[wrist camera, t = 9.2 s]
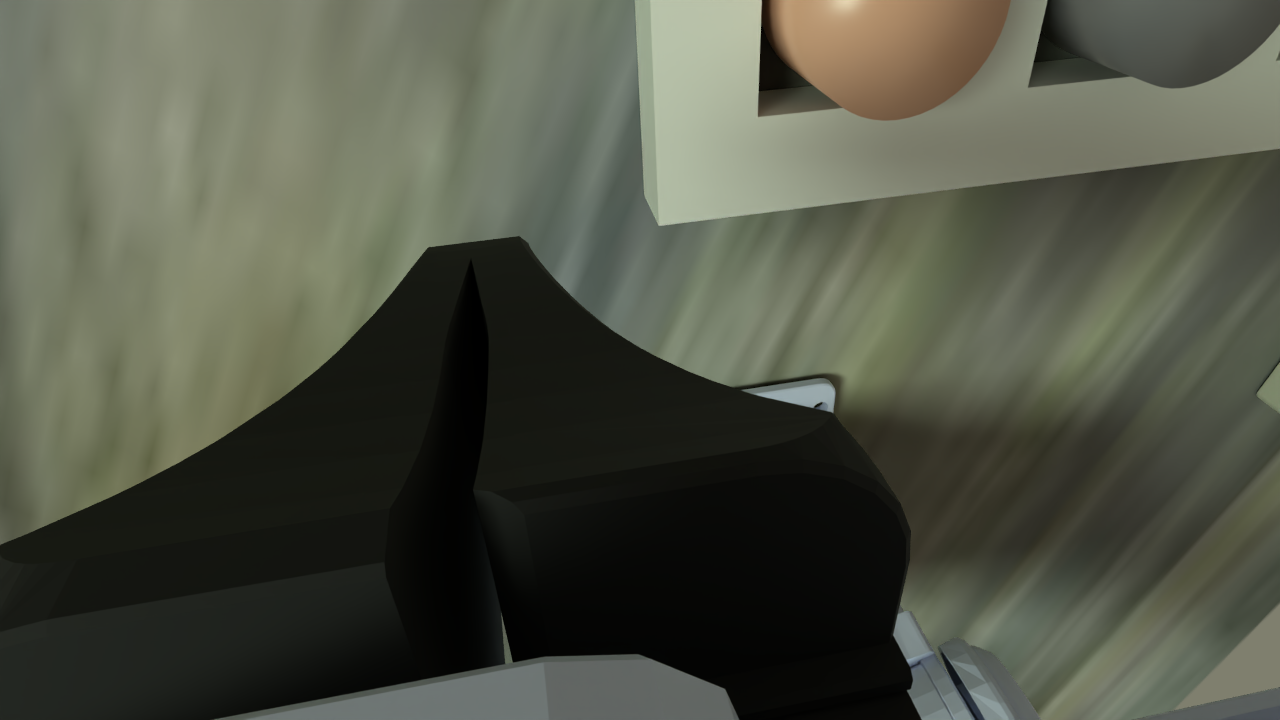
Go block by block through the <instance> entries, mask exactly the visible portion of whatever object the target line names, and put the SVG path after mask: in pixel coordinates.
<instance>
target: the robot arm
mask: <svg viewBox="0 0 1280 720" xmlns="http://www.w3.org/2000/svg"><path fill="white" fill-rule="evenodd" d="M835 395H836V392H835V388H834V386H833V385H832V383H831V382H830V381H829V380H827V379H825V378H818V379H811V380H804V381H798V382H791V383H785V384H778V385H771V386H765V387H758V388H752V389H745V390H739V389H735V388H732V387H729V386H726V385H723V384H720V383H717V382H714V381H711V380H709V379H706V378H704V377H701V376H698V375H696V374H693V373H691V372H688V371H686V370H684V369H682V368H680V367H677V366H675V365H673V364H671V363H669V362H667V361H665V360H663V359H660V358H658V357H656V356H654V355H652V354H650V353H649V352H647V351H645V350H643V349H641V348H639V347H638V346H636V345H634V344H633V343H631V342H630V341H628V340H626V339H625V338H623V337H622V336H620V335H618V334H617V333H615V332H614V331H612V330H611V329H610V328H608V327H607V326H606V325H604V324H603V323H602V322H601V321H599V320H598V319H597V318H596V317H595V316H593V315H592V314H591V313H590V312H588V311H587V310H586V309H585V308H584V307H583V306H582V305H580V304H579V303H578V302H577V301H576V300H575V299H574V298H573V297H572V296H571V295H570V294H569V293H568V292H567V291H566V290H565V289H564V288H563V287H562V286H561V285H560V284H559V283H558V282H557V281H556V280H555V279H554V278H553V277H552V275H551V274H550V273H549V272H548V271H547V270H546V268H545V267H544V266H543V265H542V264H541V262H540V261H539V260H538V258H537V257H536V256H535V254H534V253H533V251H532V250H531V248H530V246H529V244H528V243H527V242H526V241H525V240H523V239H522V238H521V237H519V236H517V237H509V238H501V239H493V240H485V241H477V242H468V243H460V244H452V245H444V246H436V247H428V248H427V250H426V251H425V252H424V253H423V254H422V256H421V257H420V258H419V259H418V261H417V262H416V263H415V264H414V266H413V267H412V268H411V269H410V271H409V272H408V273H407V275H406V276H405V277H404V278H403V280H402V281H401V282H400V284H399V285H398V286H397V287H396V289H395V290H394V291H393V292H392V294H391V295H390V296H389V297H388V298H387V300H386V301H385V302H384V303H383V304H382V306H381V307H380V308H379V309H378V310H377V312H376V313H375V314H374V315H373V316H372V317H371V318H370V319H369V320H368V321H367V322H366V323H365V324H364V325H363V326H362V327H361V328H360V329H359V330H358V331H357V332H356V333H355V334H354V336H353V337H352V338H351V339H350V340H349V341H348V342H347V343H346V344H345V345H344V346H343V347H342V348H341V349H340V350H339V351H338V352H337V353H336V354H335V355H333V356H332V357H331V358H330V359H329V360H328V361H327V362H326V363H325V364H323V365H322V366H321V367H320V368H319V369H318V370H317V371H315V372H314V373H313V374H312V375H310V376H309V377H308V378H307V379H305V380H304V381H303V382H302V383H300V384H299V385H298V386H297V387H295V388H294V389H293V390H292V391H290V392H289V393H288V394H286V395H285V396H284V397H282V398H281V399H280V400H278V401H277V402H275V403H274V404H272V405H271V406H269V407H268V408H266V409H265V410H263V411H262V412H260V413H259V414H257V415H256V416H254V417H253V418H251V419H250V420H248V421H247V422H245V423H244V424H242V425H241V426H239V427H238V428H236V429H235V430H233V431H232V432H230V433H229V434H227V435H226V436H224V437H223V438H221V439H219V440H218V441H216V442H214V443H213V444H211V445H209V446H208V447H206V448H204V449H202V450H200V451H199V452H197V453H195V454H193V455H192V456H190V457H188V458H186V459H185V460H183V461H181V462H179V463H177V464H176V465H174V466H172V467H170V468H168V469H166V470H164V471H162V472H160V473H158V474H156V475H154V476H153V477H151V478H149V479H147V480H145V481H143V482H141V483H139V484H137V485H135V486H133V487H131V488H129V489H127V490H125V491H123V492H121V493H119V494H117V495H114V496H112V497H110V498H108V499H106V500H103V501H101V502H99V503H97V504H94V505H92V506H90V507H87V508H85V509H83V510H81V511H78V512H76V513H74V514H72V515H69V516H67V517H65V518H62V519H60V520H58V521H56V522H53V523H51V524H49V525H47V526H44V527H42V528H40V529H37V530H35V531H33V532H31V533H28V534H26V535H24V536H21V537H19V538H16V539H14V540H11V541H9V542H6V543H4V544H1V545H0V720H1041V718H1040V717H1039V715H1038V714H1037V712H1036V711H1035V709H1034V708H1033V706H1032V704H1031V703H1030V701H1029V700H1028V698H1027V697H1026V695H1025V694H1024V693H1023V691H1022V690H1021V688H1020V687H1019V685H1018V684H1017V682H1016V681H1015V680H1014V678H1013V677H1012V676H1011V674H1010V673H1009V672H1008V670H1007V669H1006V668H1005V666H1004V665H1003V664H1002V663H1001V661H1000V660H999V659H998V658H997V657H996V656H995V655H994V654H993V653H991V652H989V651H986V650H984V649H981V648H978V647H976V646H972V645H971V646H970V645H969V644H968V643H967V642H966V641H965V640H963V639H961V638H958V637H956V638H952V639H950V640H949V641H947V642H945V643H943V644H942V645H940V646H938V650H939V652H940V655H941V658H942V660H943V662H944V665H945V667H946V669H947V671H948V673H949V675H950V677H951V678H950V677H949V675H948V673H947V672H946V670H945V669H944V667H943V666H942V664H941V663H940V661H939V660H938V658H937V656H936V655H935V652H934V651H933V649H932V647H931V645H930V644H929V642H928V640H927V638H926V636H925V635H924V633H923V631H922V629H921V628H920V626H919V624H918V622H917V621H916V619H915V617H914V615H913V613H912V612H911V611H903V609H902V607H901V605H900V602H901V597H902V593H903V588H904V583H905V579H906V574H907V570H908V565H909V560H910V537H911V530H910V527H909V525H908V522H907V520H906V517H905V514H904V512H903V509H902V507H901V504H900V502H899V501H898V499H897V498H896V496H895V495H894V493H893V491H892V490H891V488H890V487H889V485H888V484H887V482H886V480H885V479H884V477H883V476H882V474H881V473H880V471H879V470H878V468H877V467H876V466H875V464H874V463H873V462H872V460H871V459H870V458H869V456H868V455H867V454H866V452H865V451H864V450H863V448H862V447H861V446H860V445H859V444H858V443H857V441H856V440H855V439H854V438H853V437H852V436H851V435H850V433H849V432H848V431H847V430H846V429H845V428H844V427H843V425H842V424H841V423H840V422H839V420H838V419H837V417H836V416H835V415H834V414H833V413H834V404H835ZM820 402H823V404H821V405H820V406H819V407H816V408H814V406H815V405H816V404H817V403H820ZM501 613H502V617H503V621H504V626H505V630H506V634H507V639H508V643H509V647H510V651H511V656H512V660H513V663H509V664H505V657H504V644H503V631H502V618H501ZM1133 720H1280V687H1279V688H1275V689H1270V690H1265V691H1261V692H1256V693H1252V694H1247V695H1243V696H1238V697H1233V698H1229V699H1224V700H1220V701H1215V702H1211V703H1206V704H1201V705H1197V706H1192V707H1188V708H1183V709H1179V710H1174V711H1169V712H1165V713H1160V714H1156V715H1151V716H1147V717H1142V718H1138V719H1133Z"/></svg>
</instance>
